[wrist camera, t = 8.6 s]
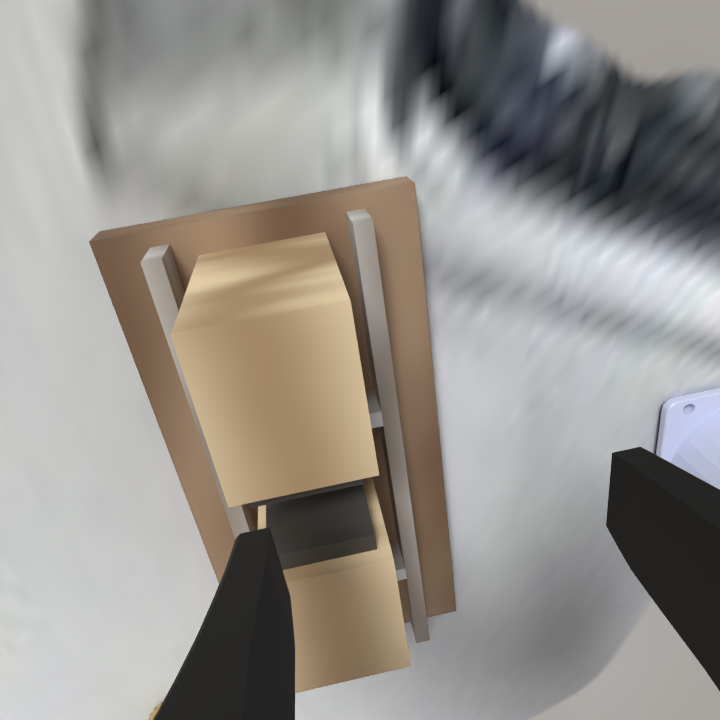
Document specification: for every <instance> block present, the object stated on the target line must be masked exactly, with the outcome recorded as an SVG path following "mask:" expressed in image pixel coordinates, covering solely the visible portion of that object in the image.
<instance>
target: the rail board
mask: <svg viewBox="0 0 720 720" xmlns="http://www.w3.org/2000/svg"><path fill="white" fill-rule="evenodd" d="M89 243H90V245H91V248H92V251H93V253H94V256H95V258H96V261H97V264H98V266H99V269H100V272H101V274H102V277H103V280H104V282H105V285H106V287H107V290H108V293H109V295H110V298H111V301H112V303H113V306H114V309H115V311H116V314H117V316H118V319H119V322H120V324H121V327H122V330H123V332H124V335H125V337H126V340H127V343H128V345H129V348H130V351H131V353H132V356H133V359H134V361H135V364H136V366H137V369H138V372H139V374H140V377H141V380H142V382H143V385H144V387H145V390H146V393H147V395H148V398H149V401H150V403H151V406H152V409H153V411H154V414H155V416H156V419H157V422H158V424H159V427H160V430H161V432H162V435H163V438H164V440H165V443H166V445H167V448H168V451H169V453H170V456H171V459H172V461H173V464H174V466H175V469H176V472H177V474H178V477H179V480H180V482H181V485H182V488H183V490H184V493H185V495H186V498H187V501H188V503H189V506H190V509H191V511H192V514H193V516H194V519H195V522H196V524H197V527H198V530H199V532H200V535H201V538H202V540H203V543H204V545H205V548H206V551H207V553H208V556H209V559H210V561H211V564H212V566H213V569H214V572H215V574H216V577H217V580H218V582H219V584H220V581H221V579H222V576H223V574H224V571H225V568H226V566H227V563H228V560H229V557H230V554H231V551H232V548H233V545H234V542H235V539H236V538H237V537H238V535H239V534H240V533H245V532H250V531H254V530H258V507H259V506H263V505H268V504H273V503H277V502H282V501H287V500H291V499H296V498H301V497H305V496H310V495H315V494H319V493H324V492H329V491H333V490H338V489H343V488H347V487H352V486H357V485H361V484H365V483H364V478H369V477H372V478H373V482H374V486H375V490H376V493H377V497H378V501H379V505H380V509H381V512H382V516H383V520H384V524H385V528H386V531H387V535H388V539H389V543H390V547H391V550H392V554H393V558H394V564H395V570H396V576H397V582H398V588H399V594H400V601H401V607H402V613H403V619H404V623H405V622H410V621H411V624H412V628H413V632H414V635H415V639H416V643H418V642H422V641H427V640H430V639H429V632H428V624H427V617H431V616H436V615H440V614H444V613H449V612H453V611H456V604H455V594H454V583H453V573H452V563H451V552H450V542H449V532H448V521H447V511H446V500H445V490H444V480H443V469H442V459H441V449H440V438H439V428H438V417H437V407H436V397H435V386H434V376H433V366H432V355H431V345H430V334H429V324H428V314H427V303H426V293H425V283H424V272H423V262H422V251H421V241H420V231H419V220H418V210H417V199H416V189H415V183H414V182H413V181H412V180H410V179H409V178H408V177H407V176H406V177H400V178H395V179H389V180H383V181H378V182H372V183H367V184H361V185H356V186H350V187H345V188H339V189H333V190H328V191H322V192H317V193H311V194H306V195H300V196H295V197H289V198H283V199H278V200H272V201H267V202H261V203H256V204H250V205H245V206H239V207H233V208H228V209H222V210H217V211H211V212H206V213H200V214H195V215H189V216H183V217H178V218H172V219H167V220H161V221H156V222H150V223H145V224H139V225H133V226H128V227H122V228H117V229H111V230H106V231H100V232H99V233H98V234H97V235H96V236H95V237H94V238H93V239H92V240H91V241H90V242H89Z"/></svg>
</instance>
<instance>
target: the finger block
mask: <svg viewBox="0 0 720 720" xmlns="http://www.w3.org/2000/svg"><path fill="white" fill-rule="evenodd" d="M364 483H365V484H361V485H357V486H352V487H347V488H343V489H338V490H333V491H329V492H324V493H319V494H315V495H310V496H305V497H301V498H296V499H291V500H287V501H282V502H277V503H273V504H268V505H263V506H259V507H258V530H259V529H264V528H268V527H270V529H271V533H272V536H273V540H274V543H275V546H276V550H277V553H278V556H279V560H280V563H281V566H282V570H283V573H284V576H285V580H286V583H287V586H288V590H289V593H290V597H291V607H292V617H293V627H294V638H295V693H298V692H302V691H306V690H311V689H315V688H319V687H323V686H328V685H332V684H336V683H340V682H345V681H349V680H353V679H357V678H362V677H366V676H370V675H374V674H379V673H383V672H387V671H391V670H396V669H400V668H404V667H408V666H411V662H410V656H409V650H408V644H407V638H406V631H405V625H404V619H403V613H402V607H401V601H400V594H399V588H398V582H397V576H396V570H395V564H394V558H393V554H392V550H391V547H390V543H389V539H388V535H387V531H386V528H385V524H384V520H383V516H382V512H381V509H380V505H379V501H378V497H377V493H376V490H375V486H374V482H373V478H372V477H369V478H364Z"/></svg>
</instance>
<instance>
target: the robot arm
mask: <svg viewBox="0 0 720 720" xmlns="http://www.w3.org/2000/svg"><path fill="white" fill-rule="evenodd" d="M686 405H688V406H687V407H686V408H684V407H685V406H686ZM606 526H607V528H608V530H609V531H610V533H611V535H612V537H613V539H614V541H615V542H616V544H617V546H618V548H619V550H620V551H621V553H622V555H623V557H624V558H625V560H626V562H627V563H628V565H629V567H630V568H631V570H632V571H633V573H634V574H635V576H636V577H637V578H638V580H639V581H640V583H641V584H642V585H643V587H644V588H645V589H646V591H647V592H648V594H649V595H650V596H651V598H652V599H653V600H654V602H655V603H656V604H657V605H658V607H659V608H660V610H661V611H662V612H663V614H664V615H665V616H666V618H667V619H668V621H669V622H670V623H671V625H672V626H673V627H674V629H675V630H676V631H677V632H678V634H679V635H680V637H681V638H682V639H683V641H684V642H685V643H686V645H687V646H688V647H689V649H690V650H691V651H692V653H693V654H694V655H695V657H696V658H697V659H698V661H699V662H700V664H701V665H702V666H703V668H704V669H705V670H706V672H707V673H708V675H709V676H710V678H711V679H712V680H713V682H714V683H715V685H716V686H717V688H718V689H719V691H720V388H717V389H712V390H707V391H703V392H698V393H693V394H688V395H684V396H679V397H674V398H672V399H669V400H668V401H666V402H665V404H664V405H663V407H662V412H661V419H660V427H659V435H658V443H657V450H656V455H655V454H653V453H651V452H649V451H647V450H645V449H643V448H641V447H637V448H633V449H628V450H624V451H619V452H614V453H612V462H611V475H610V487H609V499H608V511H607V523H606ZM153 720H295V638H294V627H293V617H292V607H291V597H290V593H289V590H288V586H287V583H286V580H285V576H284V573H283V570H282V566H281V563H280V560H279V556H278V553H277V550H276V546H275V543H274V540H273V536H272V533H271V529H270V527H268V528H264V529H259V530H254V531H250V532H245V533H240V534H239V535H238V537H237V538H236V539H235V542H234V545H233V548H232V551H231V554H230V557H229V560H228V563H227V566H226V568H225V571H224V574H223V576H222V579H221V581H220V584H219V586H218V589H217V591H216V594H215V596H214V599H213V601H212V603H211V605H210V608H209V610H208V612H207V615H206V617H205V619H204V621H203V624H202V626H201V628H200V630H199V633H198V635H197V637H196V639H195V641H194V643H193V645H192V647H191V649H190V651H189V653H188V655H187V657H186V659H185V661H184V663H183V665H182V667H181V669H180V671H179V673H178V675H177V677H176V679H175V681H174V683H173V685H172V686H171V688H170V690H169V692H168V694H167V696H166V697H165V699H164V701H163V703H162V705H161V706H160V708H159V710H158V712H157V713H156V715H155V717H154V718H153Z"/></svg>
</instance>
